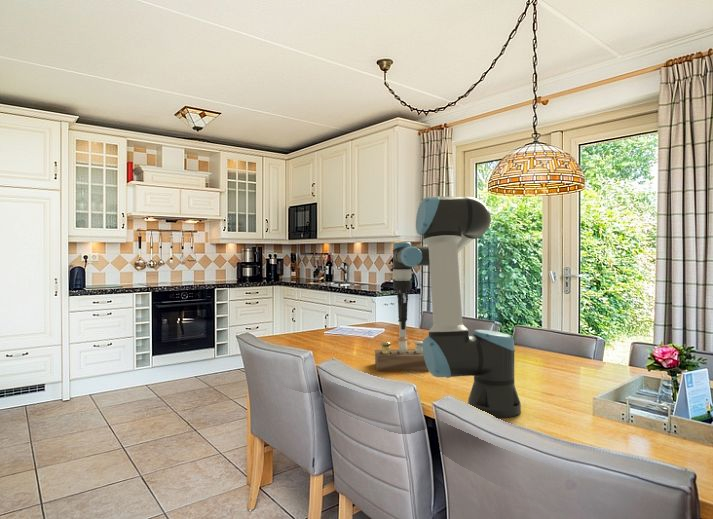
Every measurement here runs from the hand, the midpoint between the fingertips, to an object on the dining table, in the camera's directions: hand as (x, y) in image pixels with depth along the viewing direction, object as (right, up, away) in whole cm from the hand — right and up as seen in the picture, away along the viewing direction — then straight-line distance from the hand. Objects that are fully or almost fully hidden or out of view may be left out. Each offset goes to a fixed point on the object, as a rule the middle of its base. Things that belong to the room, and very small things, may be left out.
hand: (402, 336), depth 187 cm
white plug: (0, -9, 0) cm, 9 cm away
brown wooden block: (0, -12, 0) cm, 12 cm away
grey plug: (+7, -11, 0) cm, 13 cm away
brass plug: (-7, -11, 0) cm, 13 cm away
